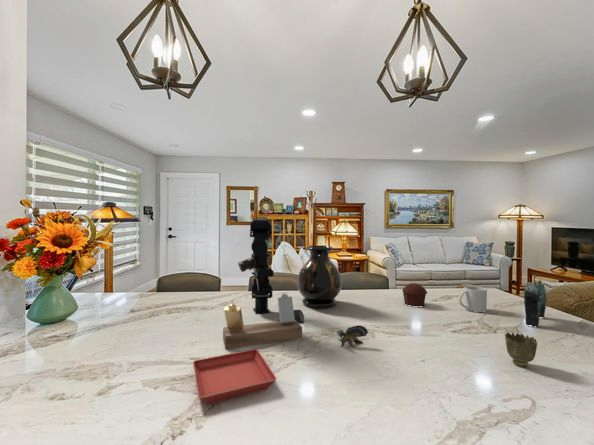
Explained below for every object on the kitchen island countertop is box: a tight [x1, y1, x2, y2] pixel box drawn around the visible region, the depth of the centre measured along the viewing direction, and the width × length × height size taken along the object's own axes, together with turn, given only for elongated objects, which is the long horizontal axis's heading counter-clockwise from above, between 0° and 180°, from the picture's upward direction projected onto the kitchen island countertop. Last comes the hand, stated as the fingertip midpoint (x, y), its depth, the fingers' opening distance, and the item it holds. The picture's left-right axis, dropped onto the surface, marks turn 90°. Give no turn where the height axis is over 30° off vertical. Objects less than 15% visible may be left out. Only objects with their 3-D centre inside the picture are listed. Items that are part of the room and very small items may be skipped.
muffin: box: [402, 282, 428, 307], centre depth 143 cm, size 12×11×10 cm
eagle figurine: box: [336, 325, 369, 348], centre depth 97 cm, size 8×7×9 cm
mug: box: [458, 285, 488, 313], centre depth 135 cm, size 11×10×10 cm
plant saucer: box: [192, 348, 277, 405], centre depth 75 cm, size 18×18×3 cm
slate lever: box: [277, 293, 295, 323], centre depth 106 cm, size 2×5×10 cm, turn 109°
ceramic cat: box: [523, 273, 548, 328], centre depth 120 cm, size 20×6×20 cm, turn 131°
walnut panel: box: [222, 320, 303, 350], centre depth 101 cm, size 8×26×4 cm, turn 109°
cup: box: [504, 332, 539, 368], centre depth 84 cm, size 8×7×8 cm
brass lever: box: [223, 303, 245, 331], centre depth 96 cm, size 2×5×10 cm, turn 82°
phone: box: [293, 309, 305, 324], centre depth 124 cm, size 8×1×15 cm
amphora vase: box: [296, 245, 343, 309], centre depth 143 cm, size 22×22×28 cm
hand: (260, 291), depth 115 cm, fingers closed
